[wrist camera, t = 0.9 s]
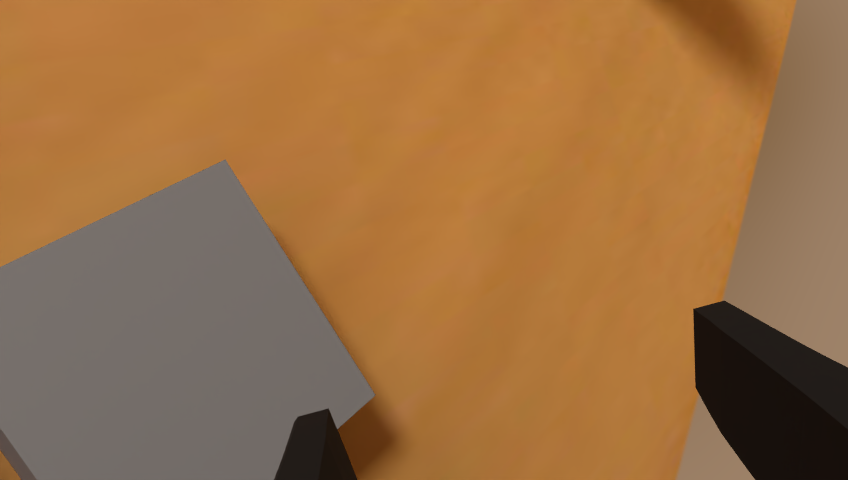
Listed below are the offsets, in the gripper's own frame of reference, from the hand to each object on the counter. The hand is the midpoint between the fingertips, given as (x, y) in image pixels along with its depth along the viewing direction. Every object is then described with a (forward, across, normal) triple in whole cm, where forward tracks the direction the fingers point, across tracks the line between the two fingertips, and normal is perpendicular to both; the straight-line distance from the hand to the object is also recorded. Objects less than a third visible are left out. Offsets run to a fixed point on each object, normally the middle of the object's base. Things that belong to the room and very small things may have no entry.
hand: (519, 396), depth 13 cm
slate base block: (+10, +11, +4) cm, 15 cm away
